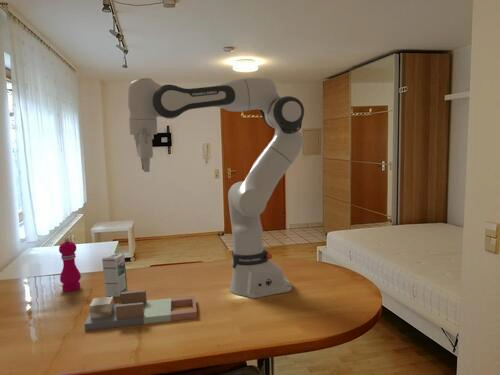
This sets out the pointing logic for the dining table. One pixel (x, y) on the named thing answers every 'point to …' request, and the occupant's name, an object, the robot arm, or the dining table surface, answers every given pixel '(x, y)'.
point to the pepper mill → (69, 267)
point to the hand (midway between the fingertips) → (145, 170)
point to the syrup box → (114, 274)
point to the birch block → (101, 307)
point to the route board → (143, 311)
